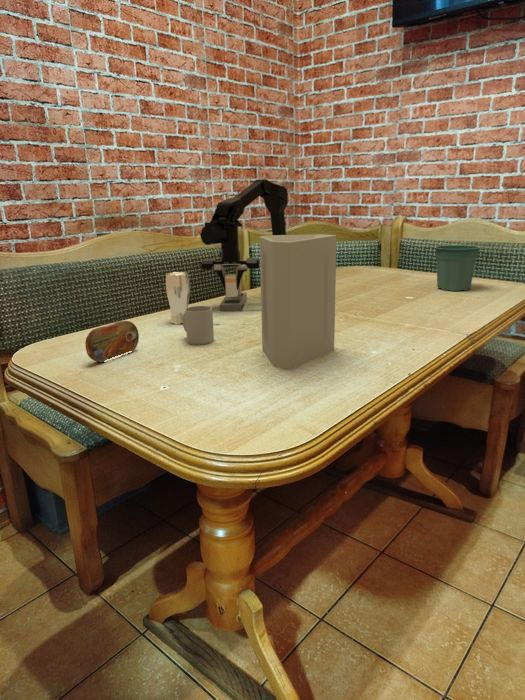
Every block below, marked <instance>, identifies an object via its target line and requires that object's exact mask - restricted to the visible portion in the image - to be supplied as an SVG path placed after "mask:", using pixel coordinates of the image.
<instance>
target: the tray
mask: <svg viewBox="0 0 525 700" xmlns="http://www.w3.org/2000/svg"><path fill="white" fill-rule="evenodd" d="M242 312H261V302H245V304H244V307H243V309H242Z"/></svg>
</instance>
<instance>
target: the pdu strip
mask: <svg viewBox="0 0 525 700" xmlns="http://www.w3.org/2000/svg"><path fill="white" fill-rule="evenodd" d="M247 299H248V293H247V292H242V281H241V282H240V285H239V289H238V296H237V297H226V295H225V296H224V298H223V299H222V301H221V302H220V304H219V312H222V313H224V312H228V313H229V312H230V313H231V312H232V313H233V312H237V313H238V312H239V313H240V312H243V307H244V305H245V303H247V302H246V301H247Z"/></svg>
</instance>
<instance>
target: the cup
mask: <svg viewBox="0 0 525 700" xmlns="http://www.w3.org/2000/svg"><path fill="white" fill-rule="evenodd" d="M213 315H214V314H213V307H212V306H209V305H208V306H207V305H194V306H193V305H192V306H188V308H186V309H185V313H184V314H183V324H182V327H183V329H184V331H185V333H186V339H187V340H186V341H187V342H188V344H191V345H194V344H195V346H196V345H197V346H201V345H202V346H203V345H207V344H211V343H213V342H214V340H215V335H214V332H215V331H214V316H213Z"/></svg>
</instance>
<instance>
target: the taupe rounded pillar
mask: <svg viewBox="0 0 525 700" xmlns="http://www.w3.org/2000/svg"><path fill="white" fill-rule="evenodd" d="M337 237H338V236H337V235H336V234H323V233H321V234H319V233H318V234H286V235H272V234H271V235H261V236H259V258H260V259H259V260H260V267H259V269H260V303H261V311H260V312H261V342H262V343H261V347H262V349H261V351H262V352H263V354H264V355H265V356H266V357H267V359H268V361H269V362H270V364H271V365H272V366H273V367H275V368H277V369H282V370H285V371H292V370H294V369H296V368H299V367H302V366H303V365H305V364H307V363H310V362H312V361H314V360H316V359H318V358H321V357H322V356H324V355H327V354H329V353H331V352H333V351H335V328H336V326H335V324H336V323H335V322H336V284H337V283H336V282H337V281H336V279H337V277H336V276H337V271H336V270H337Z"/></svg>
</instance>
